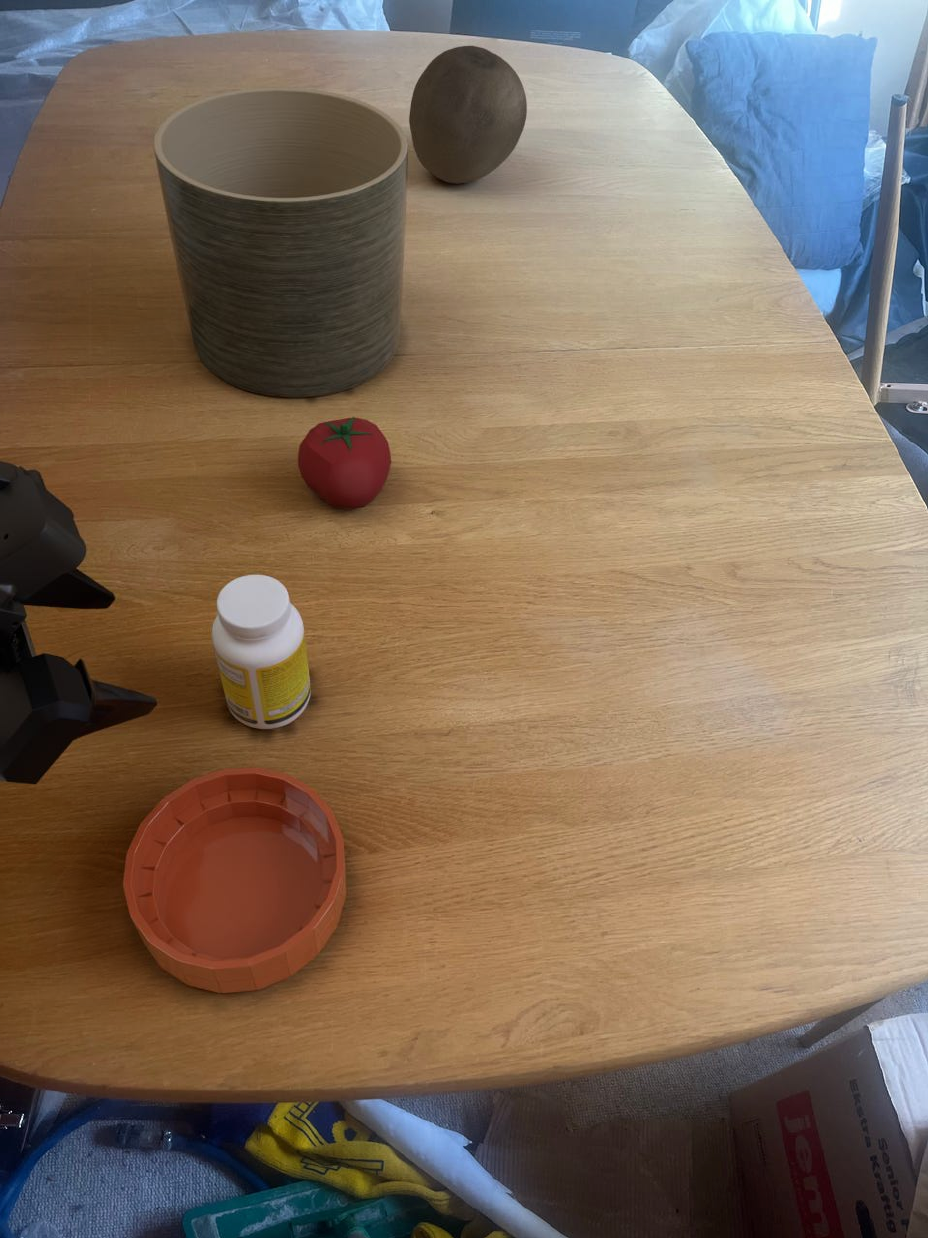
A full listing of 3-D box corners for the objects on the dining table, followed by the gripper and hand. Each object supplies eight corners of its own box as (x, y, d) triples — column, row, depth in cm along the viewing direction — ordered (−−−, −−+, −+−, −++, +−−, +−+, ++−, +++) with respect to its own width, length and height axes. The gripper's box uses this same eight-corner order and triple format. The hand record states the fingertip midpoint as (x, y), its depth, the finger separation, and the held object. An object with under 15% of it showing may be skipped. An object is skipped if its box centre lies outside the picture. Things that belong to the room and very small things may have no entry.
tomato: (287, 481, 86) (280, 417, 80) (361, 449, 89) (360, 385, 84) (335, 534, 82) (332, 471, 77) (411, 499, 86) (413, 435, 80)
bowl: (165, 1031, 56) (151, 1005, 52) (119, 841, 63) (104, 807, 60) (375, 945, 60) (375, 916, 56) (309, 776, 67) (305, 741, 64)
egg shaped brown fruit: (454, 214, 119) (462, 85, 107) (386, 168, 125) (387, 41, 114) (538, 186, 125) (555, 61, 113) (470, 143, 131) (479, 20, 120)
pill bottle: (315, 665, 73) (306, 567, 65) (306, 734, 69) (295, 639, 61) (233, 661, 73) (214, 562, 64) (219, 730, 69) (196, 634, 61)
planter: (442, 365, 99) (453, 170, 83) (239, 427, 90) (210, 223, 75) (345, 260, 110) (340, 72, 95) (158, 306, 102) (117, 108, 86)
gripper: (-12, 610, 41) (262, 675, 53) (-83, 365, 51) (160, 467, 63) (-138, 777, 44) (147, 801, 56) (-182, 516, 54) (68, 585, 66)
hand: (131, 652), depth 60 cm, fingers open, 9 cm apart
